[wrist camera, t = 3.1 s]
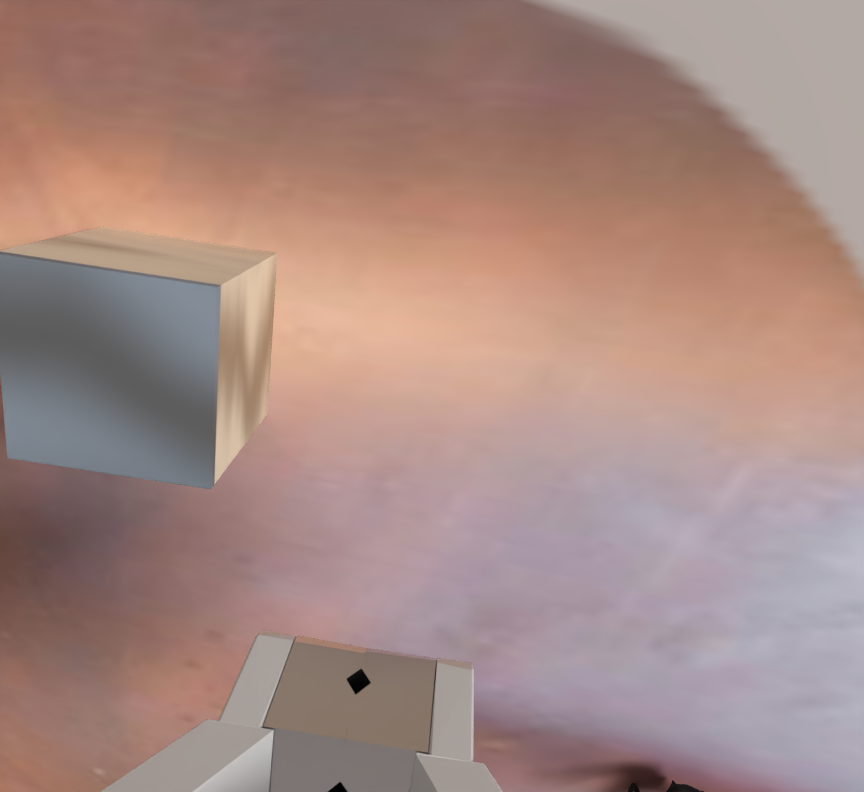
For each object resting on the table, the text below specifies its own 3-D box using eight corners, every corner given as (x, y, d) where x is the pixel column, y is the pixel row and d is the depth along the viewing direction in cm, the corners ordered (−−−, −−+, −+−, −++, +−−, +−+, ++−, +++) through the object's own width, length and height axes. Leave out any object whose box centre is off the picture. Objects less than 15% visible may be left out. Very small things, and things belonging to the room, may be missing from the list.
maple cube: (268, 413, 26) (210, 489, 20) (109, 388, 26) (7, 458, 20) (277, 252, 24) (217, 287, 18) (105, 225, 24) (-11, 252, 18)
